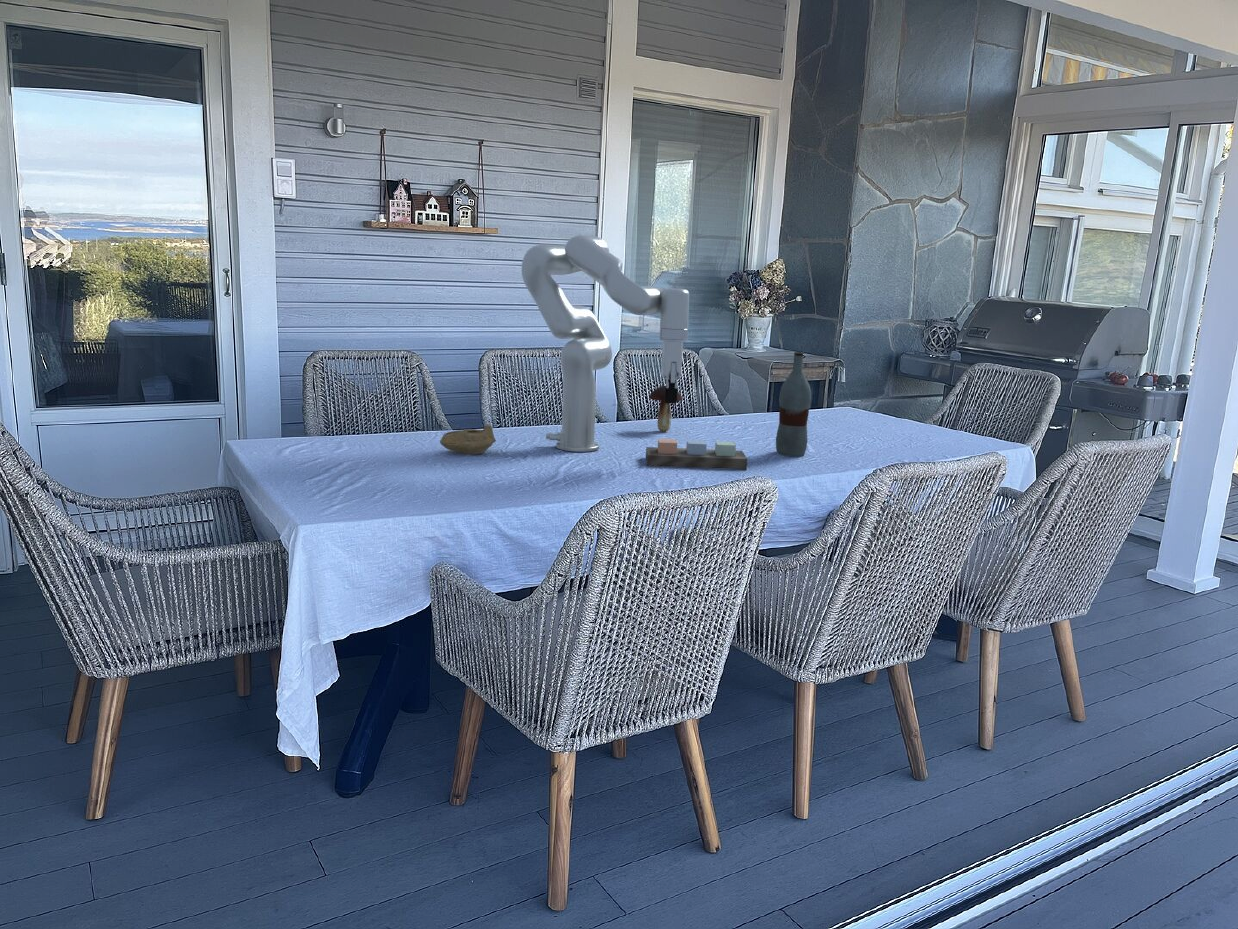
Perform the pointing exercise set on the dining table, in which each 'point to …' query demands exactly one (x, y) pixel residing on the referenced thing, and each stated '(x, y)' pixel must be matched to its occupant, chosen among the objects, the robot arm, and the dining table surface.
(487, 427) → the oil lamp
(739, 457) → the console
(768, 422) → the dining table surface
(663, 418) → the decorative mushroom
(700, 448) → the slate button
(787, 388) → the bottle
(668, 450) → the terracotta button
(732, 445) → the sage button
